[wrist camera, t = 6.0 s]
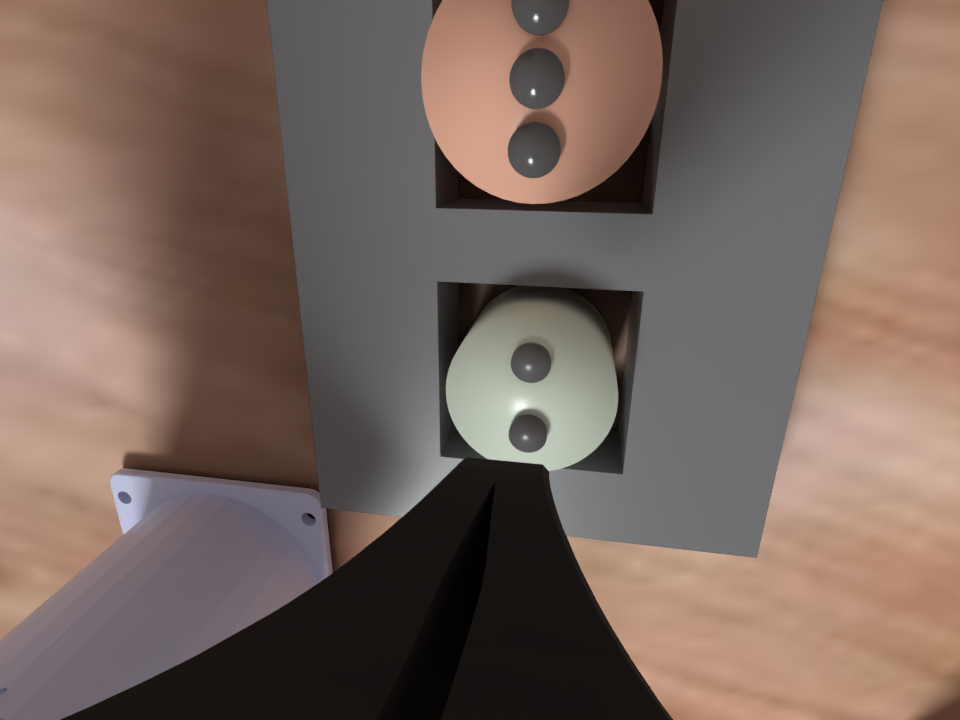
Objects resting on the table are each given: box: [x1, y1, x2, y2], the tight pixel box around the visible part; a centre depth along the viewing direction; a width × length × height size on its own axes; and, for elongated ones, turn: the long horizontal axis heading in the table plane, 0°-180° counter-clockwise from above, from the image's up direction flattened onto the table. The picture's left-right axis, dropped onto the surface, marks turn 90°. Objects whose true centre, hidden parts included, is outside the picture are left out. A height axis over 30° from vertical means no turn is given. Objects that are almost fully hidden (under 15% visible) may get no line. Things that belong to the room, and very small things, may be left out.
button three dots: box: [421, 0, 663, 204], centre depth 11 cm, size 4×4×3 cm
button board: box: [267, 0, 883, 558], centre depth 13 cm, size 22×12×2 cm, turn 0°
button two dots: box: [446, 286, 618, 471], centre depth 15 cm, size 4×4×3 cm
